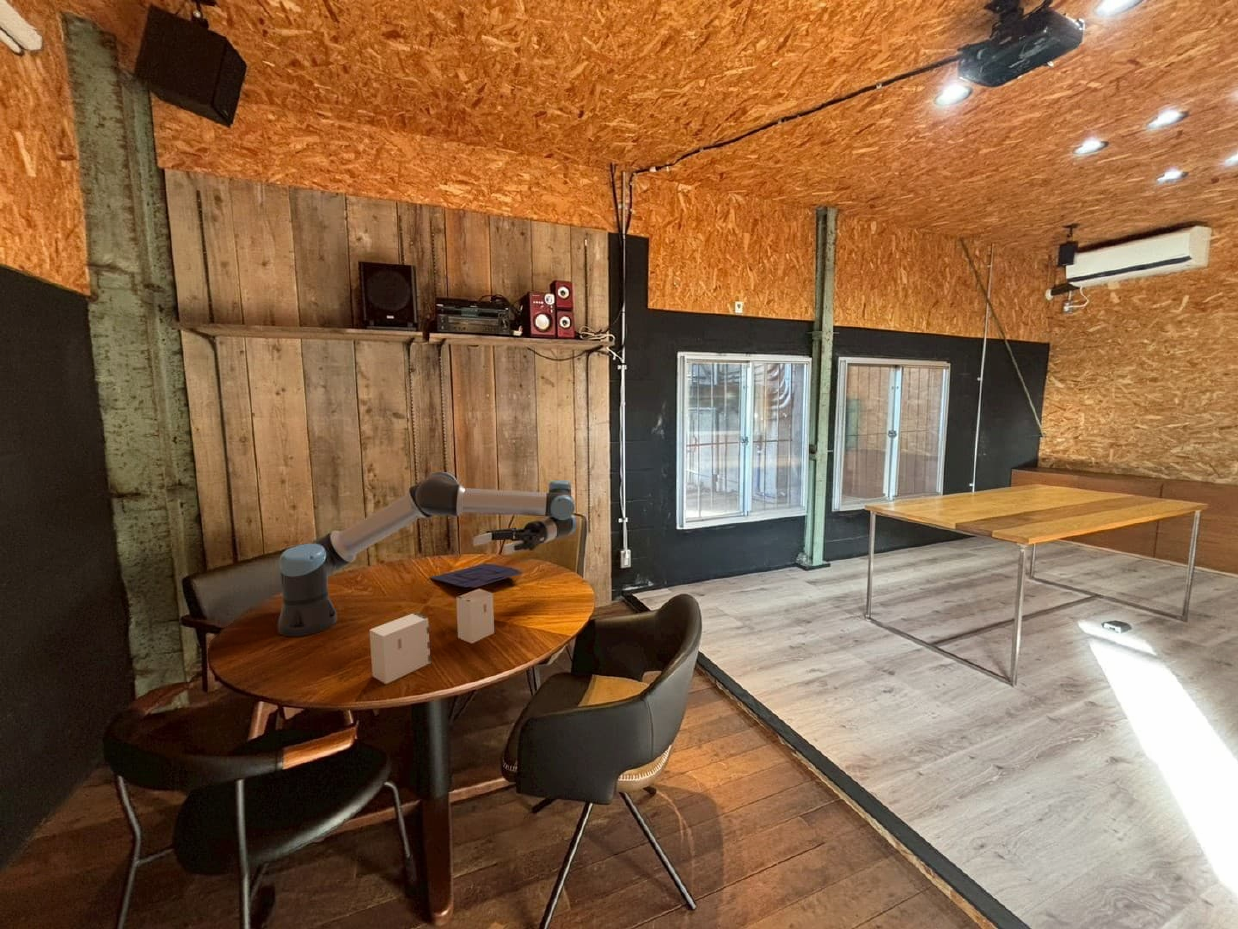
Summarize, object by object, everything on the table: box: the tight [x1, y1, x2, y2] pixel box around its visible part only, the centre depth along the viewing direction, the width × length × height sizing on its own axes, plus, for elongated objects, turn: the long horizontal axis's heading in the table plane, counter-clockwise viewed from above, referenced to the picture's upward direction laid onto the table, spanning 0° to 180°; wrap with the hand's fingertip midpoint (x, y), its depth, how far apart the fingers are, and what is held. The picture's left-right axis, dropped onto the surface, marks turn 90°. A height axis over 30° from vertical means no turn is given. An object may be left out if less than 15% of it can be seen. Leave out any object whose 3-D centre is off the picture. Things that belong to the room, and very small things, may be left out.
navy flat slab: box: [429, 563, 523, 589], centre depth 192 cm, size 24×30×4 cm
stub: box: [456, 588, 495, 644], centre depth 147 cm, size 6×8×12 cm
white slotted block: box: [369, 612, 431, 685], centre depth 128 cm, size 6×12×12 cm, turn 144°
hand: (488, 545), depth 152 cm, fingers open, 13 cm apart
